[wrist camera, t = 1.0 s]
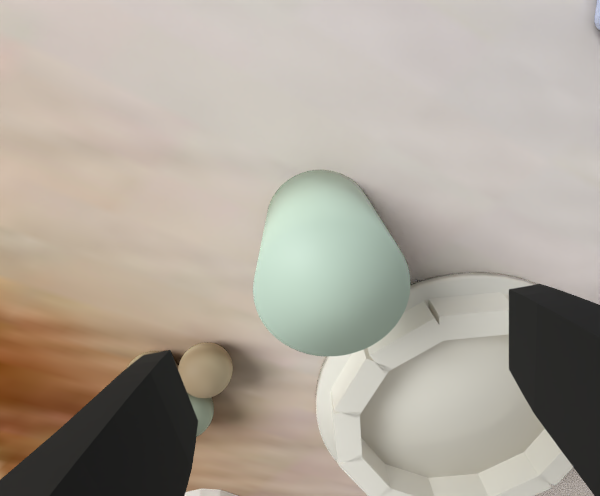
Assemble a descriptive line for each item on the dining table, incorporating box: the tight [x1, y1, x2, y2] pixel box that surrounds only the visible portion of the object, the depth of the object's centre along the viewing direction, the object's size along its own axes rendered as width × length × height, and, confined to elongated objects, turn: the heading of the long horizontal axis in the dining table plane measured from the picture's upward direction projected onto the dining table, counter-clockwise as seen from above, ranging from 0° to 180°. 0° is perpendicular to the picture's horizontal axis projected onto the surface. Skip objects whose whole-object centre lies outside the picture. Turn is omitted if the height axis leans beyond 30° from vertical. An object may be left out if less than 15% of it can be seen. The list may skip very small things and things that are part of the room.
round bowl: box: [316, 272, 573, 496], centre depth 20 cm, size 14×14×2 cm
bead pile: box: [127, 342, 233, 437], centre depth 19 cm, size 6×5×2 cm
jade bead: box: [253, 170, 411, 357], centre depth 14 cm, size 4×4×6 cm
